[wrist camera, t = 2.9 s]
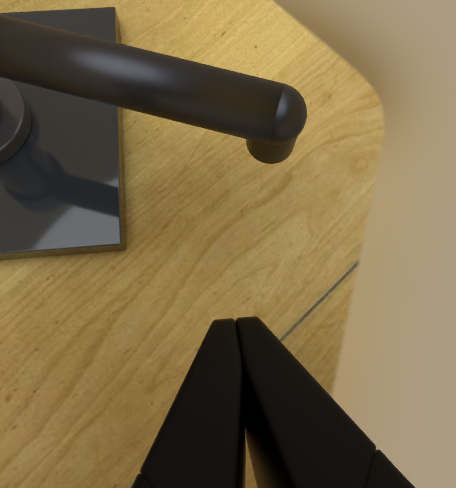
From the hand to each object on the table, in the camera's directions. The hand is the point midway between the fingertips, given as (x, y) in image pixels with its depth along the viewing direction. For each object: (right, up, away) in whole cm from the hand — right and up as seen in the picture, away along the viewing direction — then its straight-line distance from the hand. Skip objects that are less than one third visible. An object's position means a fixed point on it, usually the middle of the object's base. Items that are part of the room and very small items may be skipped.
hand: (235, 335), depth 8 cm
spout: (-6, +8, +8) cm, 13 cm away
